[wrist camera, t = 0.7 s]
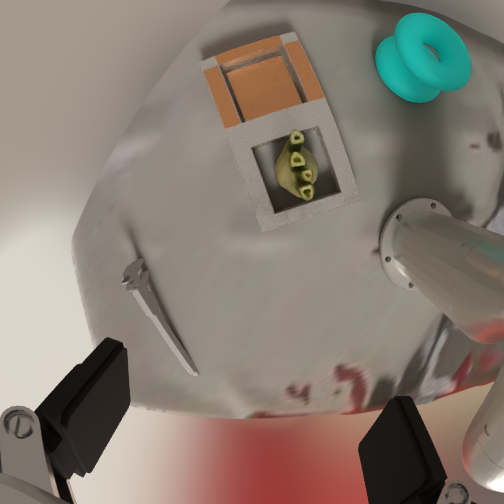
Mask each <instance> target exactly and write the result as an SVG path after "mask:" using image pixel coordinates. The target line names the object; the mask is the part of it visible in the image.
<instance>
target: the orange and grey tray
mask: <svg viewBox="0 0 504 504" xmlns="http://www.w3.org/2000/svg"><path fill="white" fill-rule="evenodd" d="M280 53H283V54H284V56H285V58H286V60H287V62H288V64H289V67H290V69H291V71H292V73H293V75H294V78H295V80H296V82H297V85H298V87H299V89H300V92H301V94H302V96H303V99H304V101H305V103H302V102H301V99H300V97H299V94H298V92H297V90H296V87H295V85H294V83H293V80H292V78H291V76H290V73H289V71H288V69H287V67H286V65H285V62H284V60H283V58H282V56H277V57H274V58H270V59H267V60H263V61H260V62H257V63H254V64H251V65H248V66H245V67H242V68H239V69H236V70H233V71H231V72H228V73H226V74H227V76H228V79H229V81H230V84H231V86H232V89H233V91H234V94H235V96H236V99H237V101H238V104H239V106H240V109H241V111H242V114H243V117H244V119H245V122H244V123H242V120H241V118H240V115H239V113H238V110H237V108H236V105H235V102H234V100H233V97H232V95H231V92H230V90H229V87H228V85H227V82H226V80H225V77H224V75H223V72H225V71H227V70H230V69H233V68H235V67H238V66H241V65H244V64H247V63H250V62H253V61H256V60H260V59H263V58H266V57H269V56H273V55H276V54H280ZM199 64H200V66H201V69H202V71H203V74H204V76H205V79H206V82H207V84H208V87H209V89H210V92H211V95H212V97H213V100H214V103H215V105H216V108H217V110H218V113H219V116H220V118H221V121H222V124H223V126H224V129H225V132H226V134H227V137H228V140H229V142H230V145H231V148H232V150H233V153H234V156H235V159H236V161H237V164H238V167H239V169H240V172H241V175H242V178H243V180H244V183H245V186H246V189H247V191H248V194H249V197H250V200H251V202H252V205H253V208H254V211H255V213H256V216H257V219H258V222H259V225H260V227H261V230H262V232H265V231H268V230H271V229H274V228H277V227H280V226H283V225H286V224H289V223H292V222H295V221H298V220H301V219H304V218H307V217H310V216H313V215H317V214H320V213H323V212H326V211H329V210H332V209H335V208H338V207H341V206H345V205H348V204H351V203H354V202H357V201H360V200H361V199H360V195H359V192H358V188H357V185H356V182H355V178H354V175H353V172H352V169H351V166H350V163H349V160H348V157H347V154H346V151H345V148H344V145H343V142H342V139H341V137H340V134H339V131H338V128H337V126H336V123H335V120H334V118H333V115H332V113H331V110H330V108H329V105H328V103H327V100H326V98H325V95H324V93H323V91H322V88H321V86H320V84H319V81H318V79H317V77H316V75H315V73H314V70H313V68H312V66H311V64H310V62H309V60H308V57H307V55H306V53H305V51H304V49H303V47H302V45H301V43H300V41H299V39H298V37H297V35H296V33H295V32H290V33H286V34H282V35H277V36H273V37H269V38H266V39H262V40H259V41H256V42H252V43H249V44H246V45H243V46H240V47H237V48H234V49H231V50H229V51H226V52H223V53H220V54H218V55H215V56H213V57H211V58H208V59H206V60H203V61H201V62H199ZM314 129H316V132H317V134H318V137H319V140H320V143H321V145H322V148H323V151H324V154H325V157H326V160H327V162H328V165H329V168H330V171H331V174H332V177H333V181H334V184H335V187H336V190H337V191H336V192H333V193H330V194H327V195H324V196H321V197H317V198H314V199H311V200H308V201H305V202H302V203H299V204H296V205H293V206H290V207H287V208H284V209H281V210H278V211H274V208H273V205H272V202H271V199H270V196H269V194H268V191H267V188H266V185H265V182H264V180H263V177H262V174H261V171H260V169H259V166H258V163H257V160H256V158H255V155H254V152H253V150H252V149H255V148H258V147H260V146H263V145H266V144H269V143H272V142H275V141H278V140H281V139H284V138H288V137H290V133H291V132H292V130H298V131H300V132H301V133H304V132H307V131H310V130H314Z"/></svg>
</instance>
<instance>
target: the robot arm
mask: <svg viewBox="0 0 504 504" xmlns="http://www.w3.org/2000/svg"><path fill="white" fill-rule="evenodd" d="M397 215H398V218H396V216H397ZM379 254H380V260H381V263H382V266H383V269H384V271H385V272H386V274H387V276H388V277H389V278H390V279H391V280H392V281H393V282H394V283H395V284H397V285H398V286H400V287H402V288H404V289H407V290H420V291H421V292H422V293H423V294H424V295H425V296H426V297H427V298H429V299H430V300H431V301H432V302H433V303H434V304H435V305H436V306H437V307H438V308H439V309H440V310H441V311H442V312H443V313H444V314H445V315H446V316H447V317H448V318H449V319H450V320H451V321H452V322H453V323H454V324H455V325H456V326H457V327H458V328H459V329H460V330H461V331H462V332H463V333H464V334H465V335H467V336H468V337H469V338H471V339H472V340H474V341H476V342H479V343H484V344H493V343H498V342H502V341H504V236H503V235H500V234H497V233H494V232H492V231H489V230H486V229H484V228H481V227H478V226H475V221H474V219H473V218H470V219H467V220H464V221H462V220H459V219H455V218H453V216H452V214H451V213H450V211H449V210H448V209H447V208H446V207H445V206H444V205H443V204H441V203H439V202H438V201H436V200H432V199H429V198H414V199H411V200H408V201H406V202H404V203H403V204H401V205H400V206H399V207H397V208H396V209H395V210H394V211H393V212H392V214H391V215H390V216H389V218H388V219H387V221H386V223H385V225H384V227H383V230H382V233H381V238H380V243H379ZM386 257H387V258H386ZM385 258H386V259H385ZM129 405H130V388H129V374H128V355H127V349H126V348H124V346H123V343H122V342H120V341H117V340H114V339H111V338H109V337H107V338H105V339H104V340H103V341H102V342H101V343H100V344H99V345H98V346H97V347H96V349H95V350H94V351H93V352H92V353H91V354H90V355H89V356H88V357H87V358H86V359H85V360H84V362H83V363H82V364H78V365H76V366H75V367H74V368H73V369H72V370H71V371H70V372H69V373H68V374H67V375H66V376H65V378H64V379H63V380H62V381H61V382H60V383H59V384H58V385H57V386H56V387H55V389H54V390H53V391H52V392H51V393H50V394H49V395H48V397H46V399H45V400H44V401H43V402H42V403H41V404H40V405H39V407H38V408H37V409H36V410H35V411H34V412H33V411H32V410H30V409H29V408H26V407H24V406H13V407H10V408H8V409H6V410H5V411H4V412H3V413H2V415H1V417H0V504H77V503H76V500H75V497H74V494H73V492H72V489H71V485H70V482H69V479H70V478H71V476H72V475H73V473H76V474H77V475H79V476H81V477H84V475H85V474H86V472H87V473H91V472H92V470H93V469H94V467H95V465H96V463H97V462H98V460H99V458H100V456H101V454H102V453H103V451H104V449H105V447H106V446H107V444H108V442H109V441H110V439H111V437H112V435H113V434H114V432H115V430H116V428H117V427H118V425H119V423H120V422H121V420H122V418H123V416H124V415H125V413H126V411H127V409H128V408H129ZM358 451H359V456H360V461H361V465H362V471H363V475H364V481H365V486H366V491H367V496H368V501H369V504H476V503H474V502H472V501H471V499H472V494H471V490H470V488H469V487H468V485H467V484H466V483H464V482H463V481H460V480H451V481H449V482H447V483H445V480H446V479H447V475H446V473H445V470H444V468H443V465H442V463H441V461H440V458H439V456H438V454H437V451H436V449H435V447H434V444H433V442H432V440H431V438H430V435H429V433H428V431H427V429H426V427H425V424H424V422H423V420H422V418H421V416H420V414H419V412H418V410H417V408H416V406H415V403H414V401H413V399H412V398H411V397H410V396H395V397H394V398H393V399H391V400H390V401H389V402H388V403H387V405H386V406H385V408H384V410H383V411H382V413H381V414H380V415H379V417H378V418H377V420H376V421H375V423H374V424H373V426H372V427H371V429H370V430H369V431H368V433H367V434H366V435H365V437H364V438H363V440H362V441H361V442H360V444H359V448H358ZM462 459H463V464H464V466H465V469H466V470H467V472H468V474H469V475H470V476H471V477H472V479H473V480H475V481H476V482H477V483H478V484H480V485H482V486H483V487H485V488H487V489H491V490H493V491H498V492H504V362H503V364H502V366H501V369H500V372H499V374H498V376H497V378H496V380H495V382H494V384H493V386H492V387H491V389H490V391H489V393H488V395H487V397H486V398H485V400H484V402H483V403H482V405H481V407H480V408H479V410H478V412H477V413H476V415H475V417H474V418H473V420H472V422H471V424H470V426H469V427H468V430H467V432H466V434H465V437H464V440H463V445H462Z"/></svg>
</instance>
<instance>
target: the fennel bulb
mask: <svg viewBox="0 0 504 504" xmlns="http://www.w3.org/2000/svg"><path fill="white" fill-rule="evenodd" d="M303 143H304V135H303V134H302V133H301V132H300V131H298V130H292V132H291V133H290V137H289V139H288V140H287V142H286V144H285V146H284V148H283V150H282V152H281V154H280V155H279V157H278V159H277V160H276V163H275V177H276V180H277V181H278V183H279V185H280V186H282V187H283V188H285V189H287V190H288V191H289V192H291V193H292V194H294V195H295V196H297V197H302V198H303V199H305V200H306V201H308V200H311V199H312V198H313V195H314V186H313V183H314V182H315V181H316V179H317V176H318V164H317V162H316V159H315V157H314V156H313V155H312V154H311V152H310V151H309V150H307V149H306V148H305V147H304V146H302V145H303Z"/></svg>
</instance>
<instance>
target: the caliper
mask: <svg viewBox="0 0 504 504" xmlns="http://www.w3.org/2000/svg"><path fill="white" fill-rule="evenodd" d="M143 262H144V259H143V258H141V259H138V260H136V261H134V262H133V263H131V264H130V265H128V266H127V268H126V270H125V271H124V273H123V277H124V280H123V282H122V284H127V287H126V292H129V291H132V293H133V295H134V296H135V298H136V299H137V301H138V303H139V304H140V306H141V307H142V309H143V310H144V312H145V314H146V315H147V317H150V318H151V320H152V321H153V323H154V324H155V326H156V327H157V329H158V330H159V332H160V333H161V335H162V336H163V338H164V339H165V341H166V342H167V344H168V345H169V347H170V348H171V349H172V351H173V352H174V354H175V355H176V356H177V358H178V359H179V361H180V362H181V363H182V365H183V366H184V367H185V369H186V370H187V372H188V373H189V374H192V375H193V376H196V375H199V373H198V371H197V370H196V367H195V365H194V364H193V362H192V360H191V358H190V357H189V356H188V354H187V353H186V351H185V350H184V348H183V347H182V345H181V344H180V342H179V341H178V339H177V338H176V336H175V335H174V333H173V332H172V330H171V329H170V327H169V325H168V324H167V322H166V321H165V319H164V317H163V316H162V314H161V313H160V311H159V309H158V305H159V303H158V302H157V301H156V299H155V297H154V295H153V294H152V293H151V292H150V291H149V290H148V288H147V282H148V277H149V270H148V269H146V270H143V271H142V273H140V275H138V274H137V272H138V271H139V269H140V267H141V265H142V263H143Z"/></svg>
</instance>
